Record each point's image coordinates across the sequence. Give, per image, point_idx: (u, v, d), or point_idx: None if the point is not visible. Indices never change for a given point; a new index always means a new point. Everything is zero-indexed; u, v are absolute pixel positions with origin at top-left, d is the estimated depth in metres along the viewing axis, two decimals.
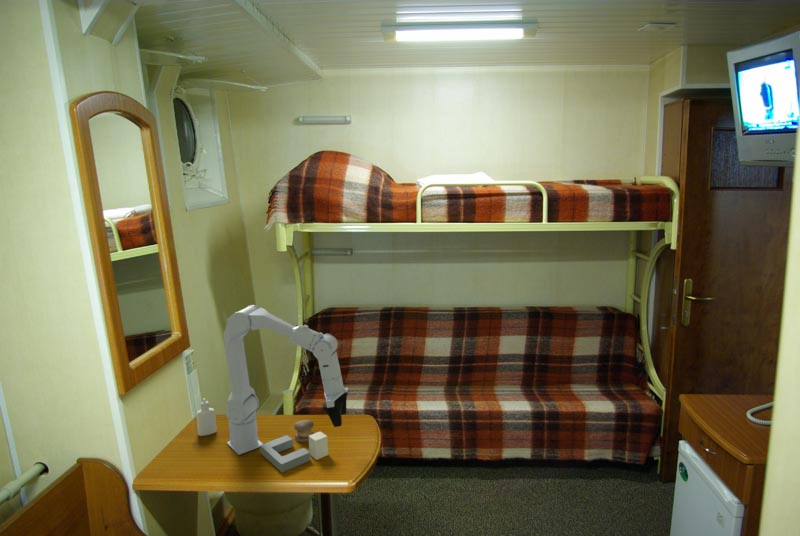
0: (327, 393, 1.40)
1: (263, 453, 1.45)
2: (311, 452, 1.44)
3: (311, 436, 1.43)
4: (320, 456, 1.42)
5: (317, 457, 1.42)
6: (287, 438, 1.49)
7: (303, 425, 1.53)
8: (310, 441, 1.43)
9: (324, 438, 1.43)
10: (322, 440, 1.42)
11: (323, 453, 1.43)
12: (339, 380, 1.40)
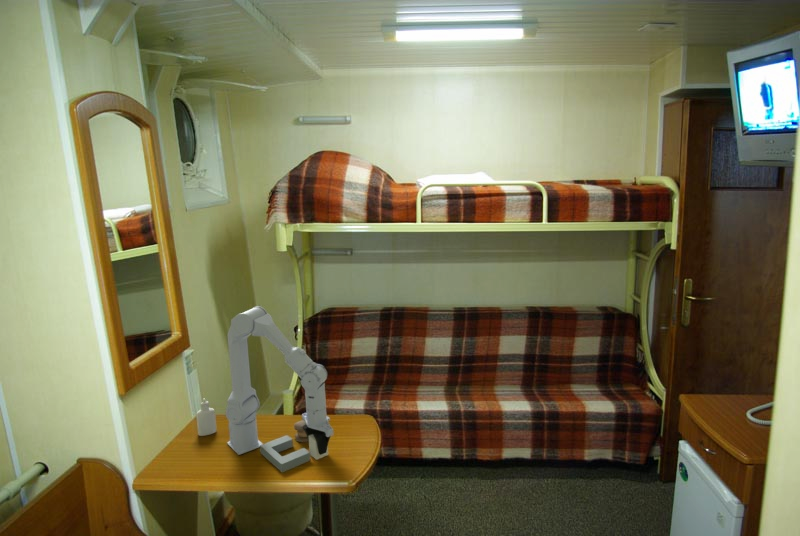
0: (316, 424, 1.40)
1: (263, 453, 1.45)
2: (311, 452, 1.44)
3: (311, 436, 1.43)
4: (320, 456, 1.42)
5: (317, 457, 1.42)
6: (287, 438, 1.49)
7: (303, 425, 1.53)
8: (310, 441, 1.43)
9: None
10: None
11: None
12: None
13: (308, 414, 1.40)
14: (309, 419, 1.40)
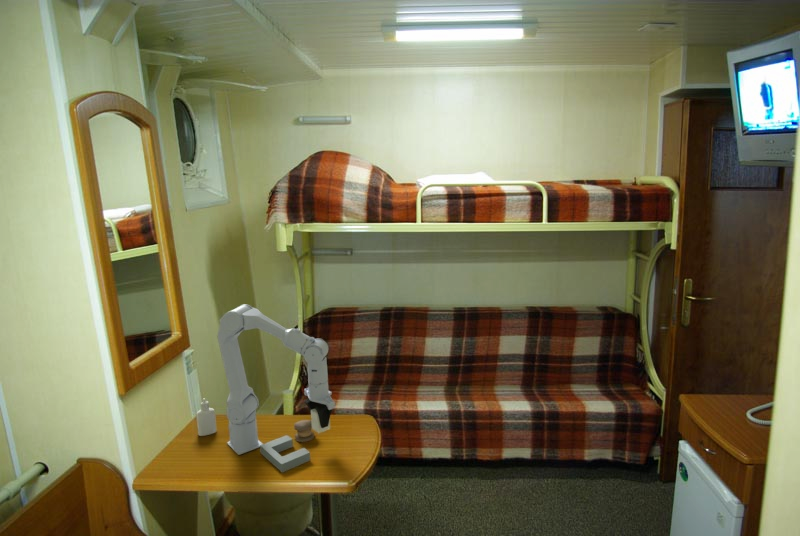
0: (318, 397, 1.41)
1: (263, 453, 1.45)
2: (313, 426, 1.45)
3: (313, 410, 1.45)
4: (322, 430, 1.44)
5: (319, 430, 1.43)
6: (287, 438, 1.49)
7: (303, 425, 1.53)
8: (312, 415, 1.45)
9: None
10: None
11: (325, 427, 1.44)
12: None
13: (310, 387, 1.42)
14: (311, 392, 1.42)
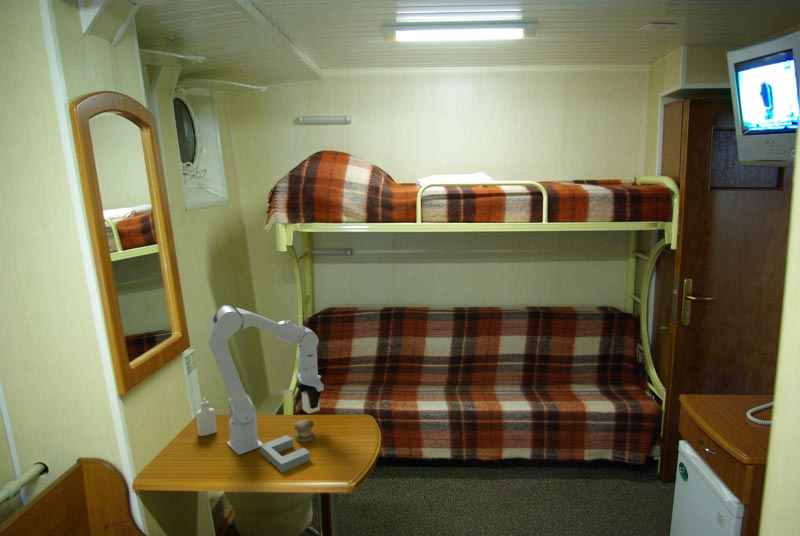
0: (308, 380, 1.54)
1: (263, 453, 1.45)
2: (304, 407, 1.58)
3: (304, 392, 1.58)
4: (312, 410, 1.57)
5: (309, 411, 1.56)
6: (287, 438, 1.49)
7: (303, 425, 1.53)
8: (303, 397, 1.58)
9: None
10: None
11: (315, 408, 1.58)
12: (317, 368, 1.57)
13: (301, 371, 1.55)
14: (302, 376, 1.55)
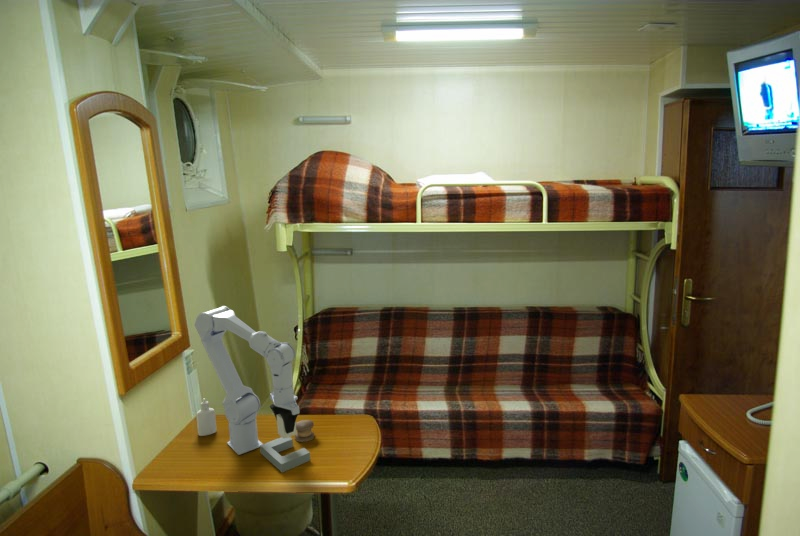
0: (283, 402, 1.39)
1: (263, 453, 1.45)
2: (279, 431, 1.43)
3: (279, 415, 1.42)
4: (288, 435, 1.42)
5: (285, 436, 1.41)
6: (287, 438, 1.49)
7: (303, 425, 1.53)
8: (278, 420, 1.42)
9: None
10: None
11: (291, 432, 1.42)
12: None
13: (274, 392, 1.39)
14: (275, 397, 1.39)
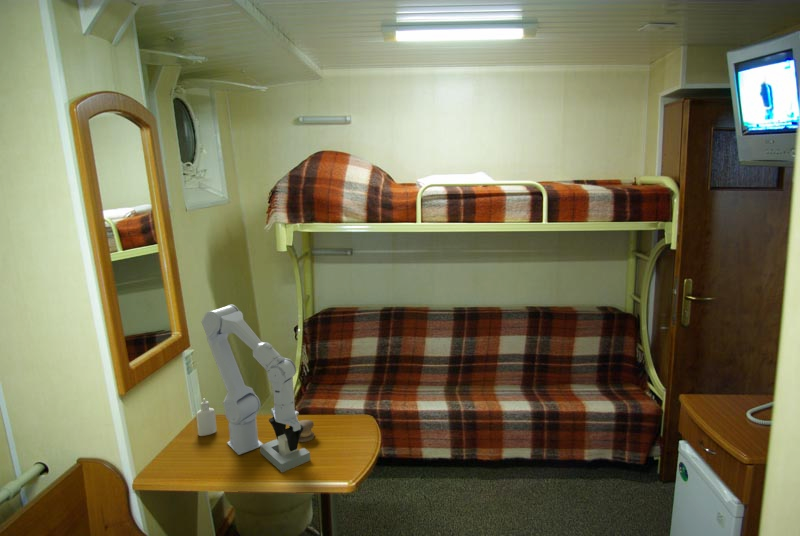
0: (284, 418, 1.40)
1: (263, 453, 1.45)
2: (280, 453, 1.44)
3: (280, 437, 1.43)
4: None
5: None
6: None
7: (303, 425, 1.53)
8: (279, 442, 1.43)
9: None
10: None
11: None
12: None
13: (276, 408, 1.40)
14: (277, 413, 1.40)
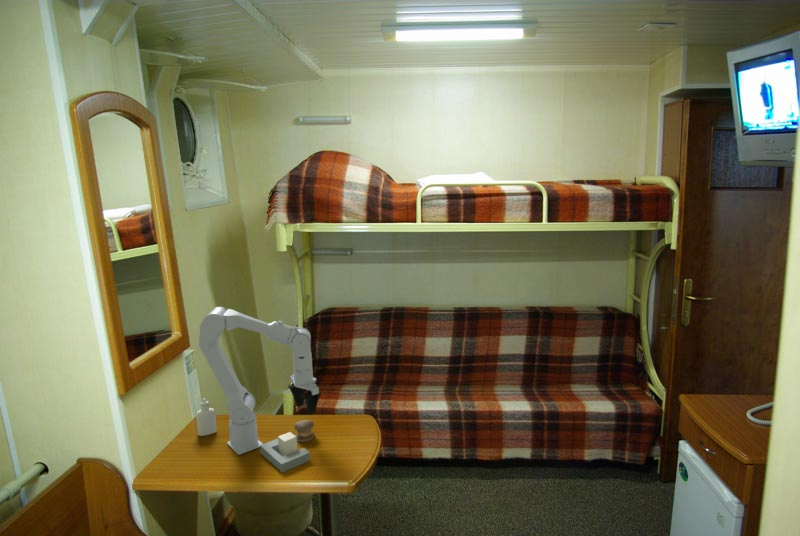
0: (303, 383, 1.47)
1: (263, 453, 1.45)
2: (280, 453, 1.44)
3: (280, 437, 1.43)
4: None
5: None
6: None
7: (303, 425, 1.53)
8: (279, 442, 1.43)
9: (293, 438, 1.43)
10: (291, 441, 1.43)
11: None
12: (312, 370, 1.50)
13: (295, 374, 1.48)
14: (296, 379, 1.48)
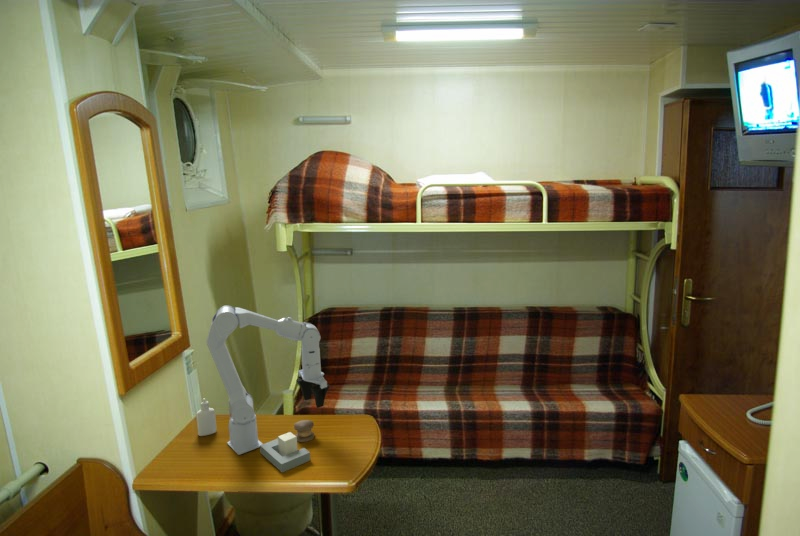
0: (311, 377, 1.51)
1: (263, 453, 1.45)
2: (280, 453, 1.44)
3: (280, 437, 1.43)
4: None
5: None
6: None
7: (303, 425, 1.53)
8: (279, 442, 1.43)
9: (293, 438, 1.43)
10: (291, 440, 1.43)
11: None
12: (320, 364, 1.54)
13: (304, 368, 1.52)
14: (305, 373, 1.52)
